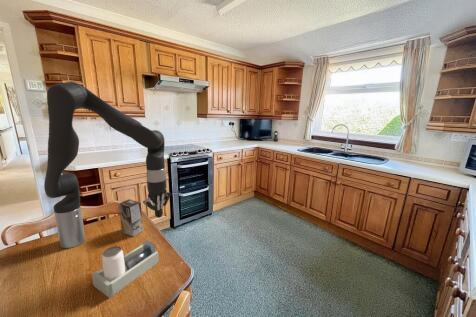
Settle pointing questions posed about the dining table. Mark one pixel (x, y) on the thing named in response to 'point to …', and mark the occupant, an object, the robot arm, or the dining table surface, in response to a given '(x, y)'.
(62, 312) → the dining table surface
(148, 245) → the shaft
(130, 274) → the cradle
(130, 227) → the coffee box
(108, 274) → the can
